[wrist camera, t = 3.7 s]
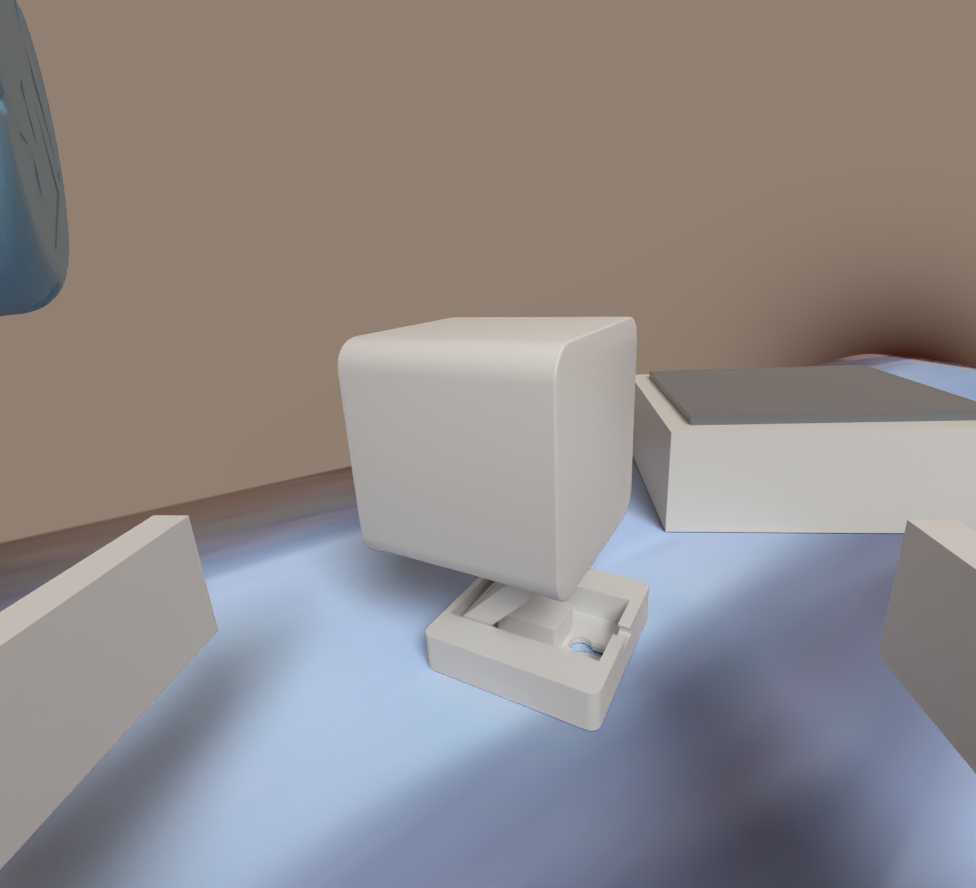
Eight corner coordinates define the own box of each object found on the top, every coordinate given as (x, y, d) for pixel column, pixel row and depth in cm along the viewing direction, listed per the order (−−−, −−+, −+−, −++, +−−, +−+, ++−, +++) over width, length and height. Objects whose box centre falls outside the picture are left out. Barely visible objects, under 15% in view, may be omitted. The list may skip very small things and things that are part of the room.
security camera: (479, 563, 22) (462, 315, 19) (651, 607, 18) (667, 314, 15) (377, 660, 17) (330, 340, 13) (592, 748, 13) (596, 347, 10)
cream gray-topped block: (665, 531, 23) (671, 423, 22) (627, 444, 35) (630, 368, 33) (1018, 533, 22) (1053, 416, 20) (857, 441, 33) (872, 361, 31)
